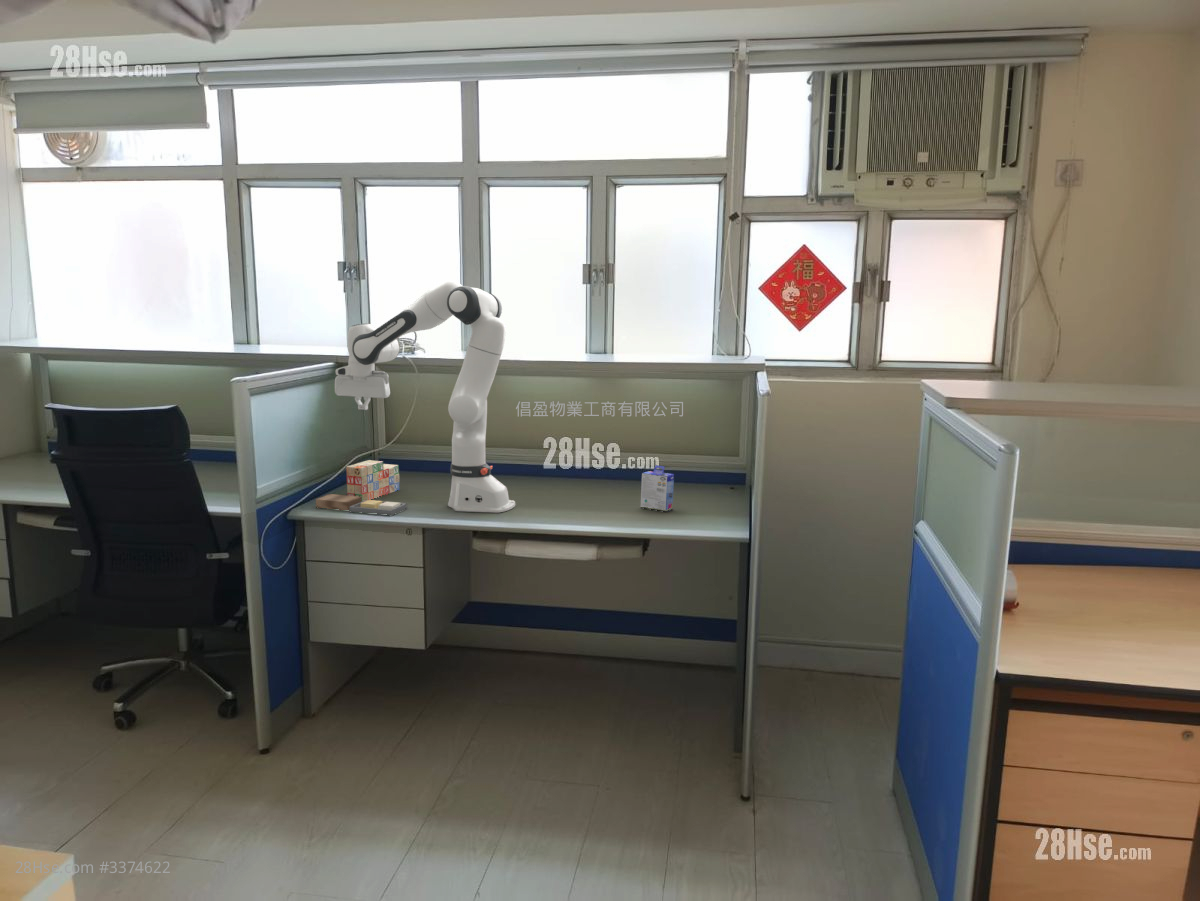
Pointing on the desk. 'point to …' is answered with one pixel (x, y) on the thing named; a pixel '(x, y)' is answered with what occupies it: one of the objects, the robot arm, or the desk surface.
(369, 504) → the ochre tile
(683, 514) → the desk surface
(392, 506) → the cream tile
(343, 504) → the walnut ledge
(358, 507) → the tray
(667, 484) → the ink cartridge box
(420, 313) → the robot arm
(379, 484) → the stack of blocks
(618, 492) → the desk surface
